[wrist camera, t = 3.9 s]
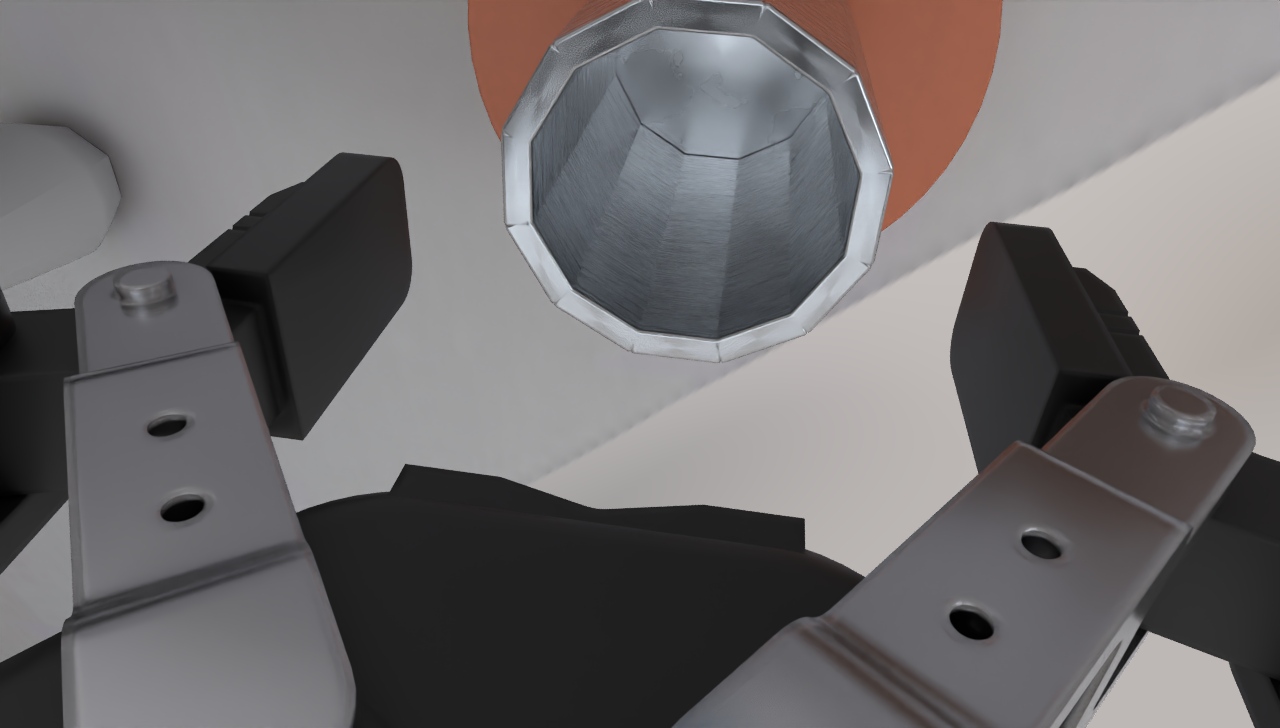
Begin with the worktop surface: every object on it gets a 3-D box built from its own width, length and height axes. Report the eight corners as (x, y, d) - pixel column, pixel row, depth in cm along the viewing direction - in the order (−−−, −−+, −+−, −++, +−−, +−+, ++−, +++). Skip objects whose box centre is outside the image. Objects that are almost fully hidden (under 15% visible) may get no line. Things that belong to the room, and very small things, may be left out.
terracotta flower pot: (527, 160, 34) (445, 285, 26) (517, -323, 26) (392, -365, 18) (917, 200, 33) (960, 344, 25) (1038, -295, 25) (1163, -326, 16)
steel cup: (597, 156, 23) (507, 339, 16) (603, -101, 20) (494, -22, 12) (828, 180, 23) (848, 380, 15) (875, -80, 19) (930, 16, 12)
